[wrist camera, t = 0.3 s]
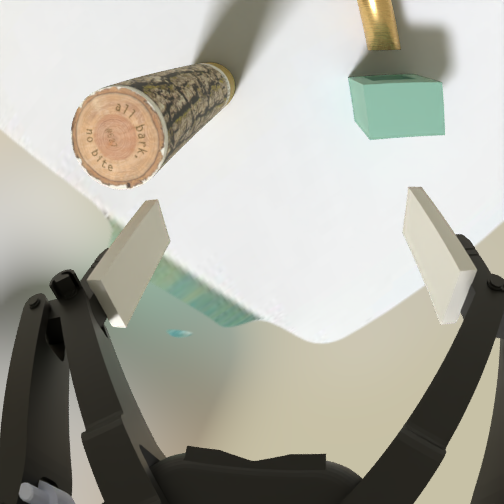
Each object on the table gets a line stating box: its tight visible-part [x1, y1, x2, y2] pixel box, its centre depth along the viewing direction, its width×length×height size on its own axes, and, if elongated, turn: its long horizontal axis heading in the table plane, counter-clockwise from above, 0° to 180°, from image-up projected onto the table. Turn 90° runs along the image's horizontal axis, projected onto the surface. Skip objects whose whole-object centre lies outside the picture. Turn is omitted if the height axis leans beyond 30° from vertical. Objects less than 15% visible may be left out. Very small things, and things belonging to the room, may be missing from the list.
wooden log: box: [71, 62, 235, 190], centre depth 27 cm, size 7×7×25 cm
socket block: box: [348, 74, 445, 140], centre depth 31 cm, size 6×9×9 cm, turn 103°
